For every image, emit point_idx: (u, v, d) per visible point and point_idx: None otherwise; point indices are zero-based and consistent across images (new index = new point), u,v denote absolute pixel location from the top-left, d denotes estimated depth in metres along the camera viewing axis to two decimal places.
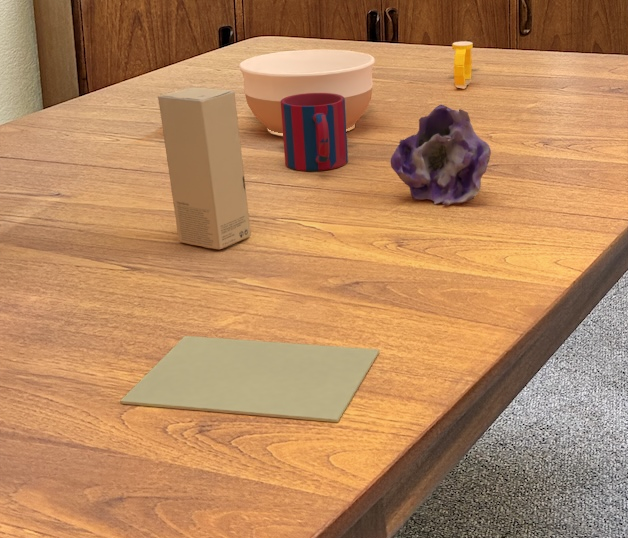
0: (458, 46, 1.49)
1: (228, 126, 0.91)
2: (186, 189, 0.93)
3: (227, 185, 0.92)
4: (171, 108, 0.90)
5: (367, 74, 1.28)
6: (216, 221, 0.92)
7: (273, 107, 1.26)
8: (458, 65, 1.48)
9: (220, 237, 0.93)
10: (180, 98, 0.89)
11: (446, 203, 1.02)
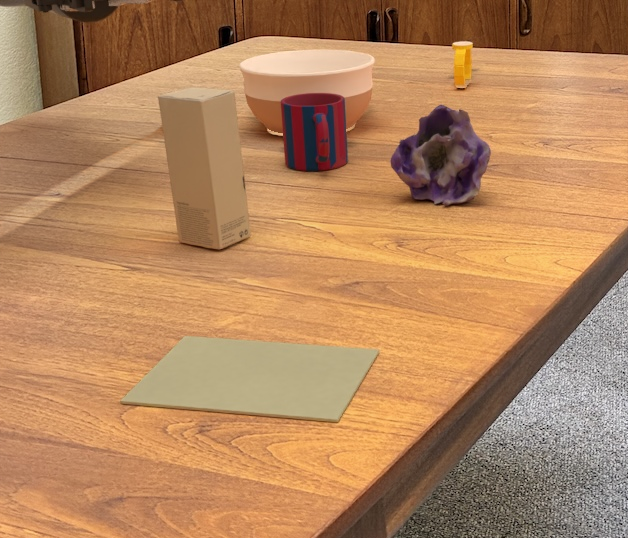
0: (458, 46, 1.49)
1: (228, 125, 0.91)
2: (186, 189, 0.93)
3: (227, 185, 0.92)
4: (171, 108, 0.90)
5: (367, 74, 1.28)
6: (216, 221, 0.92)
7: (273, 107, 1.26)
8: (458, 65, 1.48)
9: (220, 237, 0.93)
10: (180, 98, 0.89)
11: (446, 203, 1.02)
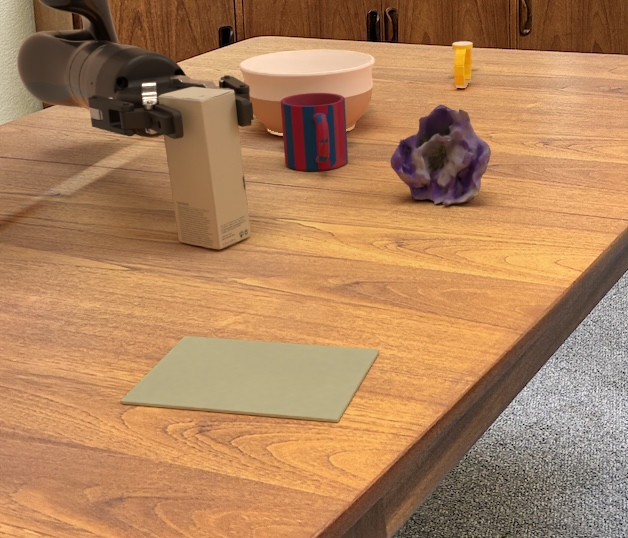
0: (458, 46, 1.49)
1: (228, 125, 0.91)
2: (186, 189, 0.93)
3: (227, 185, 0.92)
4: None
5: (367, 74, 1.28)
6: (216, 221, 0.92)
7: (273, 107, 1.26)
8: (458, 65, 1.48)
9: (220, 237, 0.93)
10: (180, 98, 0.89)
11: (446, 203, 1.02)
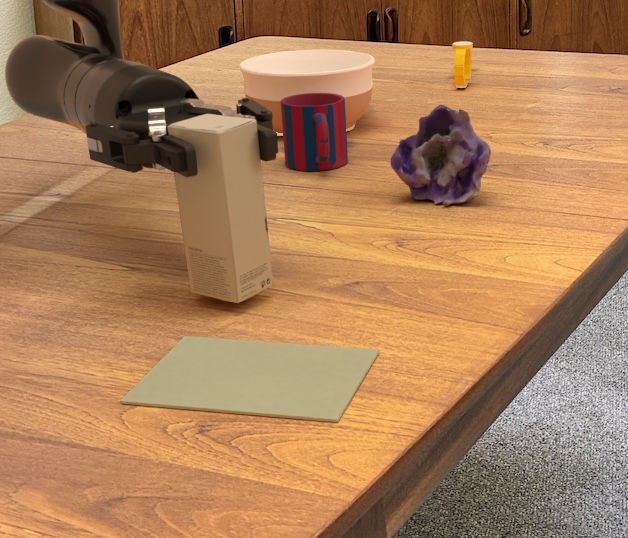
0: (458, 46, 1.49)
1: (249, 160, 0.78)
2: (199, 233, 0.80)
3: (247, 229, 0.79)
4: None
5: (367, 74, 1.28)
6: (234, 271, 0.79)
7: (273, 107, 1.26)
8: (458, 65, 1.48)
9: (239, 289, 0.80)
10: (194, 129, 0.76)
11: (446, 203, 1.02)
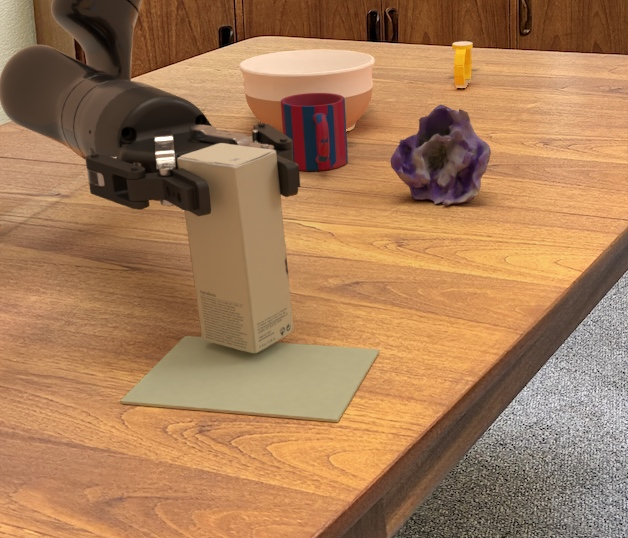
0: (458, 46, 1.49)
1: (268, 196, 0.70)
2: (212, 276, 0.72)
3: (265, 272, 0.71)
4: None
5: (367, 74, 1.28)
6: (252, 318, 0.71)
7: (273, 107, 1.26)
8: (458, 65, 1.48)
9: (256, 338, 0.72)
10: (207, 162, 0.68)
11: (446, 203, 1.02)
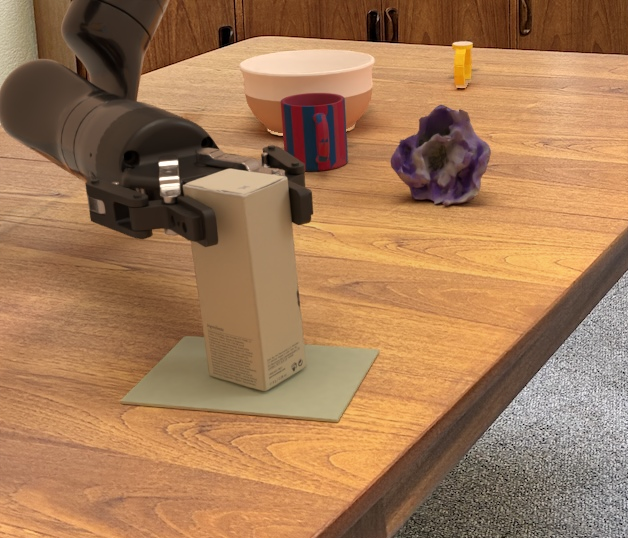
0: (458, 46, 1.49)
1: (279, 225, 0.66)
2: (220, 310, 0.68)
3: (276, 305, 0.67)
4: None
5: (367, 74, 1.28)
6: (262, 354, 0.67)
7: (273, 107, 1.26)
8: (458, 65, 1.48)
9: (266, 375, 0.68)
10: (214, 190, 0.64)
11: (446, 203, 1.02)
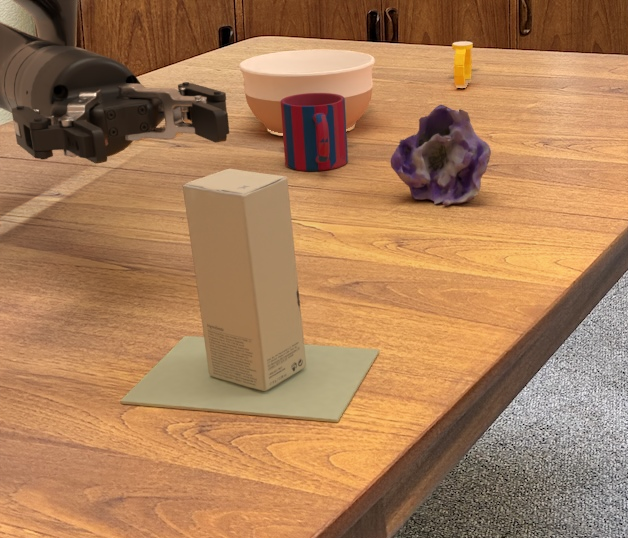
0: (458, 46, 1.49)
1: (279, 225, 0.66)
2: (220, 309, 0.68)
3: (276, 305, 0.67)
4: (201, 203, 0.65)
5: (367, 74, 1.28)
6: (261, 354, 0.67)
7: (273, 107, 1.26)
8: (458, 65, 1.48)
9: (267, 374, 0.68)
10: (214, 190, 0.64)
11: (446, 203, 1.02)
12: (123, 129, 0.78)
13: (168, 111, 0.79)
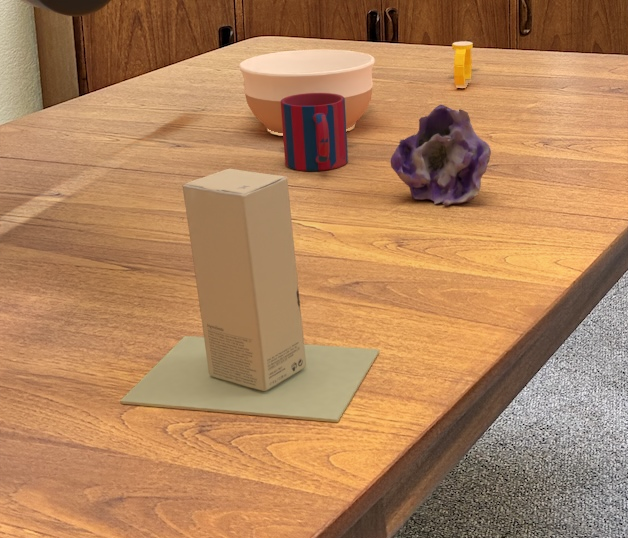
0: (458, 46, 1.49)
1: (279, 225, 0.66)
2: (220, 309, 0.68)
3: (276, 305, 0.67)
4: (201, 203, 0.65)
5: (367, 74, 1.28)
6: (261, 354, 0.67)
7: (273, 107, 1.26)
8: (458, 65, 1.48)
9: (267, 374, 0.68)
10: (214, 190, 0.64)
11: (446, 203, 1.02)
12: None
13: None
